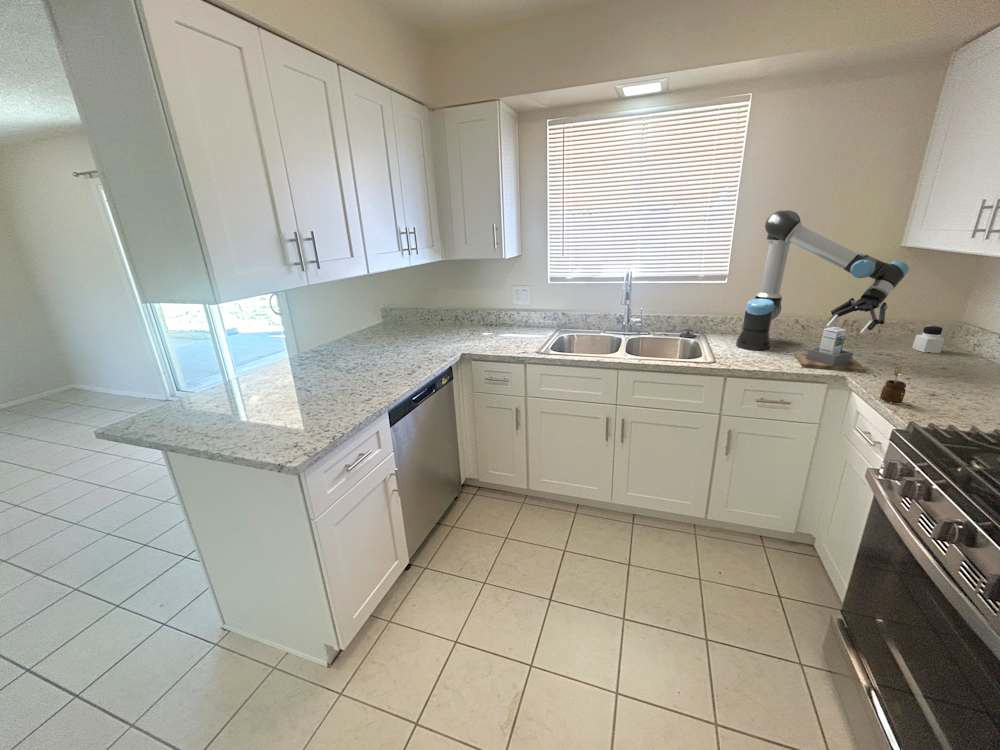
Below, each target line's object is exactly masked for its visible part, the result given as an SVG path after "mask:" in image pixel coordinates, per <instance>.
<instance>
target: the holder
mask: <svg viewBox="0 0 1000 750" xmlns="http://www.w3.org/2000/svg"><path fill="white" fill-rule="evenodd" d="M819 350H820V346H818V347H813V348H812V347H811V348H808V349H807V352H806V354H807V355H806V359H809V360H813V361H816V362H820V363H823V364H827V365H831V366H835V365H840V364H845V363H850V362H851V359H852V357H853V355H854V352H853V351H848V350H844V349H842V352H841V354H837V355H832V354H828V353H824V352H820V351H819Z"/></svg>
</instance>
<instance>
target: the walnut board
mask: <svg viewBox="0 0 1000 750" xmlns="http://www.w3.org/2000/svg"><path fill="white" fill-rule="evenodd" d="M806 355H807V353H802V352H801V353H799V352H794V353H793V357H794V356H795V357H794V358H795V359H797V360H798V361H797V360H796V361H797V363H798V362H799V363H800V364H799V363H798V364H799V366H800V365H801V366H803V367H802V368H809V367H812V368H811V369H820V368H822V370H831V369H835V370H834V371H842V370H845V371H844V372H853V371H858V372H857V373H865V371H866V368H865V367H864V366H863V365H862V364H860V363H859V361H857V360H856V359H855V358H854V357H853V356H852V359H851V362H850V363H845V364H840V365H835V366H831V365H827V364H823V363H820V362H816V361H813V360H809V359H806ZM801 366H800V367H801Z"/></svg>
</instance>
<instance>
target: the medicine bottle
mask: <svg viewBox="0 0 1000 750" xmlns="http://www.w3.org/2000/svg"><path fill="white" fill-rule="evenodd" d="M943 330H944V329H943V327H941V326H937V325H926V326H924V328H923V330H922V334H915V335H916V336H915V338H914V341H913V344H912V347H911V348H914V349H916V350H919V351H922V352H932V353H931V354H940V353H941V352H942V349H943V346H944V343H945V341H946V339H945V338H944V337H941V336H942V332H943ZM914 349H913V350H914ZM916 350H915V351H916ZM919 351H918V352H919ZM922 352H921V353H922Z"/></svg>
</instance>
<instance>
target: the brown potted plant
mask: <svg viewBox="0 0 1000 750" xmlns="http://www.w3.org/2000/svg"><path fill="white" fill-rule="evenodd" d="M902 367H903V366H899V365H898V366H896V365H895V369H894V371H893V372H894V373H893V375H894V377H893V379H889V380H886V381H885V385H884V386H883V387H882V389H881V393H880V396H879V399H880V400H881V399H882V400H884V401H887V402H892V403H900V404H902V403H903V401H904V398H905V395H906V391H907V390H906V387H907V384H906V383H905V382H904V381H902V380H904V377H905V376H904V375H905V374H903V373H901V371H902V369H903V368H902ZM901 375H902V376H901ZM898 377H899V378H898ZM882 400H881V401H882ZM884 401H883V402H884ZM887 402H886V403H887Z"/></svg>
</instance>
